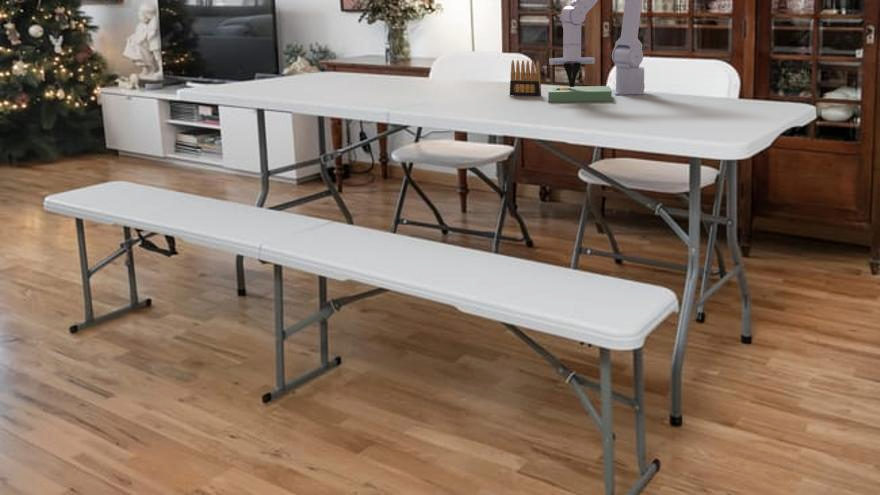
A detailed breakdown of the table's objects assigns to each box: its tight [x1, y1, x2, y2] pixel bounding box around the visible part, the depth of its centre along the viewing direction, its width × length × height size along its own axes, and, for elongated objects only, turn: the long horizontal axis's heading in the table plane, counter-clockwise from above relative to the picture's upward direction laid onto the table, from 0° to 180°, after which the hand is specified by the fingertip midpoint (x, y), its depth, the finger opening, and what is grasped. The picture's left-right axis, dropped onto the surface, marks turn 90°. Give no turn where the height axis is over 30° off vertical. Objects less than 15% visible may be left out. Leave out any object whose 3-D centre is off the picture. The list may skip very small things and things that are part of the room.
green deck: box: [547, 85, 613, 103], centre depth 325 cm, size 20×14×3 cm
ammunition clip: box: [509, 59, 542, 97], centre depth 336 cm, size 11×2×12 cm, turn 67°
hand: (571, 86), depth 324 cm, fingers closed
